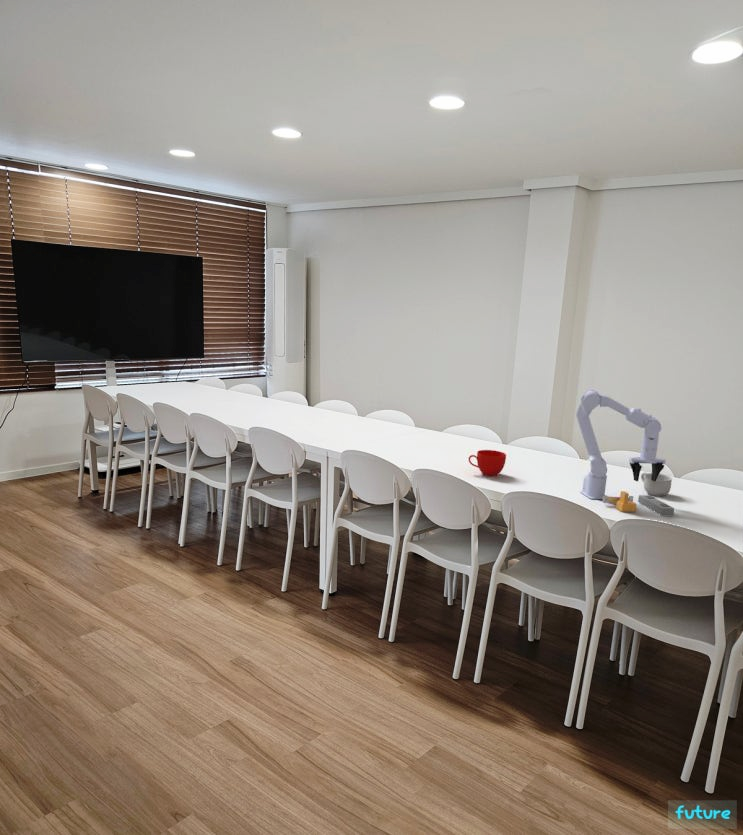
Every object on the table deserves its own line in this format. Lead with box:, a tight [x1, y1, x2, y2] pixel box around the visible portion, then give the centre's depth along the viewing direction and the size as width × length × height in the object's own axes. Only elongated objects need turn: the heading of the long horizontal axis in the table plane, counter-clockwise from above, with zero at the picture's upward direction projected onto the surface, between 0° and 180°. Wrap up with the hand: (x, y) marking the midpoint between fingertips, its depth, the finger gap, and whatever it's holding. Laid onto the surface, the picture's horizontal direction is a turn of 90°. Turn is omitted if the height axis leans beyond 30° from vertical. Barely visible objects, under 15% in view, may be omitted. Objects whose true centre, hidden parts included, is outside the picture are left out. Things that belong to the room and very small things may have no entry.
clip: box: [602, 495, 634, 504], centre depth 244 cm, size 12×2×4 cm, turn 91°
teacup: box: [640, 472, 673, 497], centre depth 265 cm, size 14×11×8 cm
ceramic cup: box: [468, 449, 507, 477], centre depth 279 cm, size 13×17×10 cm
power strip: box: [637, 494, 675, 517], centre depth 243 cm, size 16×5×3 cm, turn 8°
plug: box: [615, 490, 637, 513], centre depth 239 cm, size 4×6×7 cm
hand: (644, 480), depth 248 cm, fingers open, 7 cm apart
